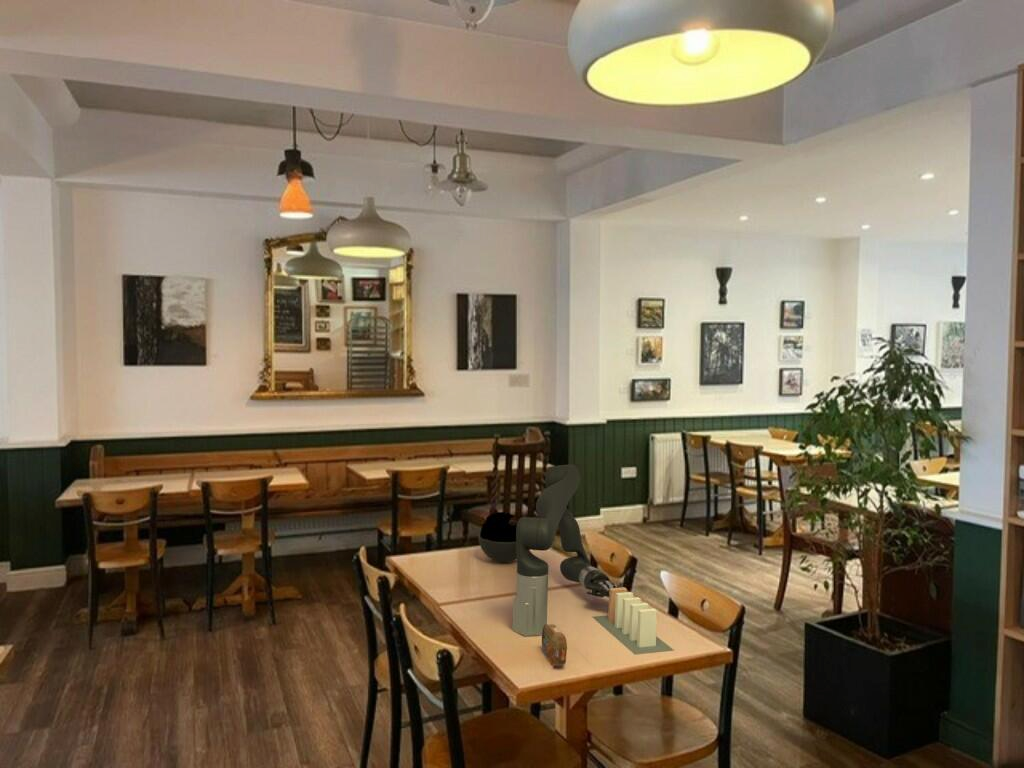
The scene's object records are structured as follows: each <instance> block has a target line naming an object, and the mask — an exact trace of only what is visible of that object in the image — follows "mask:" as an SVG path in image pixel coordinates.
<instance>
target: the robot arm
mask: <svg viewBox="0 0 1024 768" xmlns="http://www.w3.org/2000/svg"><path fill="white" fill-rule="evenodd" d="M580 479H581V477H580V471H579V469H578V468H577V467H576V466H575V465H573V464H563V465H562V464H561V465H554V466H549V467H547V468H546V471H545V483H546V488H545V489H544V490H542V492H541V494H540V496H539V497H538V498H537V501H536V504H535V509H536V513H537V515H538V517H529V516H528V517H527V516H523V517H520V518H519V519H518V521H517V529H516V545H517V559H516V585H515V586H516V587H515V588H516V590H515V592H516V593H515V597H514V598H513V601H512V631H514V632H515V633H517V634H519V635H521V636H524V637H527V636H533V637H534V636H540V635H541V636H542V630H543V627H544V625H545V624H548V598H549V597H548V594H549V591H548V590H549V564H548V562H546V561H545V559H544V560H543V559H541V558H539V557H538V556H536V555H535V554H533V552H531V550H532V551H548V550H550V549H551V548H552V546H553V544H554V541H555V538H556V534H557V531H558V530H559V536H560V537H559V538H560V542H561V543H560V544H561V549H562V550H563V551H564V552H566V553H576V555H575V556H571V557H567V558H564V559H563V560H561V562H560V564H559V565H560V566H559V569H560V573H561V575H562V576H563V578H564V579H566V580H568V581H570V582H574V583H579V584H580V585H581V586H582V587H583V588H584V589H585V590H586V593H585V594H586V595H589V596H593V597H598V598H600V599H601V598H604V597H606V598H608V599H609V592H610V588H623V587H624V583H621V582H620V583H618V584H615V582H612V581H611V580H610V578H609V576H607V575H606V574H605V573H604V572H602V571H601V570H600V569H598V568H596V567H594V566H592V564H591V560H590V559H589V557H588V555H587V553H586V550H585V549H584V545H583V541H582V536H581V530H580V526H579V523H578V521H577V519H576V518H575V517H574V515H573V514H572V513H571V512H570V511H569V509H568V508H567V507H568V504H569V502H570V500H571V498H572V497H573V496H574V494H575V493H576V491H577V490H578V488H579V485H580Z"/></svg>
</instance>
